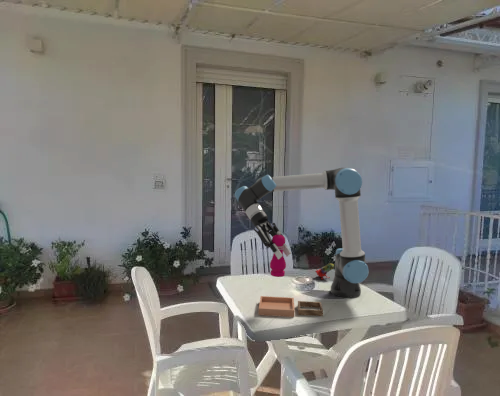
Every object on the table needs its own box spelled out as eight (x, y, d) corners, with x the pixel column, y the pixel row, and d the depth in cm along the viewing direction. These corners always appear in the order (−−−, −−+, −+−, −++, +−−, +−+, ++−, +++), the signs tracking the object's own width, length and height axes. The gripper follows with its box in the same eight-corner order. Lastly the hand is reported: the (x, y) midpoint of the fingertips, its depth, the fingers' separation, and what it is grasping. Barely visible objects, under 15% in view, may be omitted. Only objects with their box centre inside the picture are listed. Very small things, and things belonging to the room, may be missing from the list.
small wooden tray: (320, 307, 183) (320, 302, 183) (322, 316, 172) (323, 310, 172) (297, 306, 184) (297, 300, 183) (298, 315, 173) (298, 309, 173)
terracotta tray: (293, 303, 186) (293, 297, 186) (294, 317, 171) (294, 310, 171) (260, 302, 188) (260, 296, 187) (258, 315, 172) (258, 308, 172)
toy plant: (326, 286, 228) (338, 274, 221) (311, 279, 226) (323, 267, 219) (325, 275, 234) (337, 263, 228) (311, 269, 232) (322, 257, 226)
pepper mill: (275, 271, 183) (277, 229, 181) (288, 274, 178) (290, 231, 176) (266, 275, 177) (267, 231, 175) (279, 278, 173) (280, 233, 171)
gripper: (248, 212, 174) (277, 255, 165) (273, 208, 188) (301, 247, 180) (239, 222, 178) (267, 265, 169) (264, 218, 192) (291, 257, 184)
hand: (284, 256), depth 174 cm, fingers closed on pepper mill, 6 cm apart
